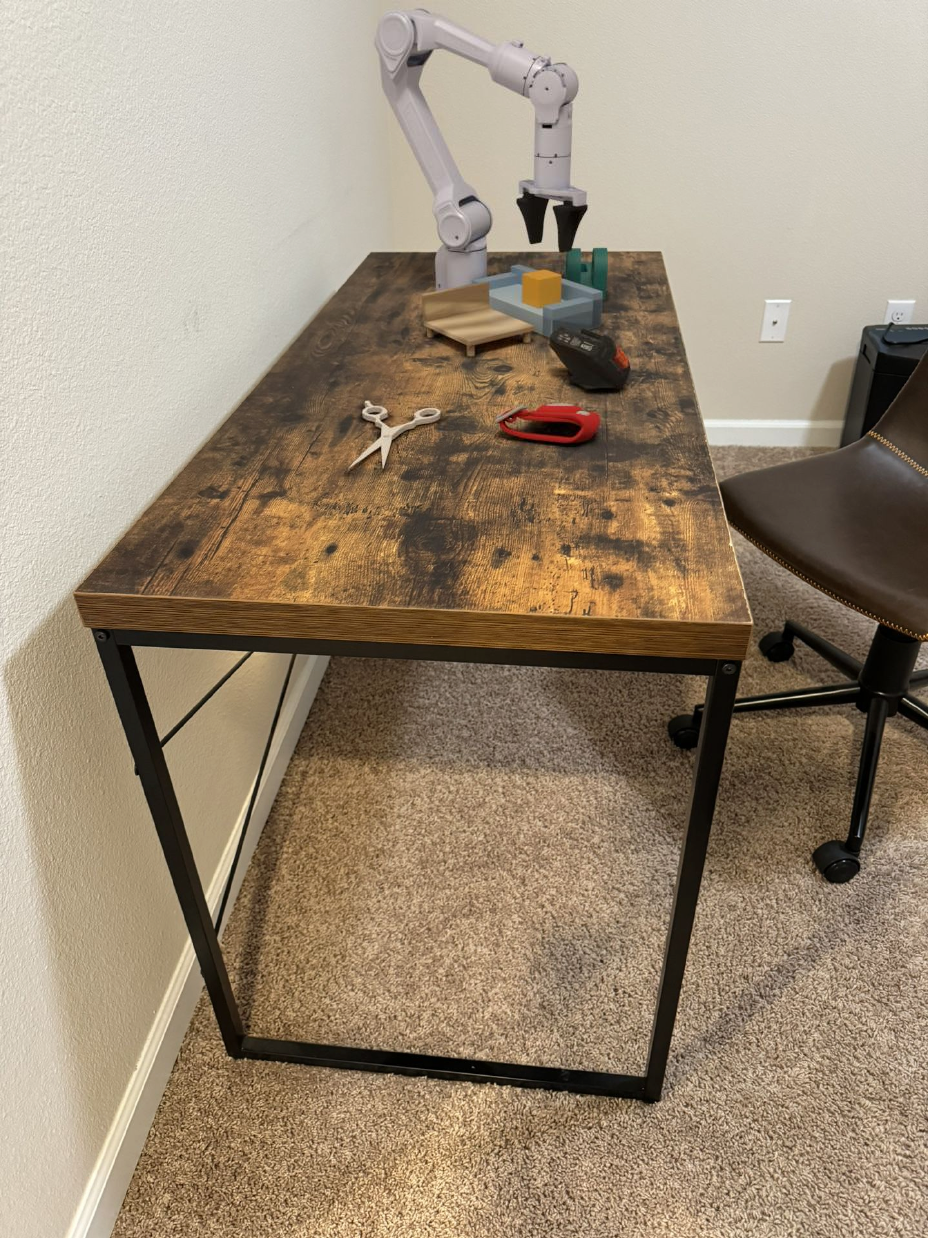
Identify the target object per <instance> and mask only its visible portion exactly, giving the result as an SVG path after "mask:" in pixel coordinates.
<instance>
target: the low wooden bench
mask: <svg viewBox="0 0 928 1238" xmlns="http://www.w3.org/2000/svg"><path fill="white" fill-rule="evenodd" d="M421 303H422V320H423V323H422V324H423V326H424V327H425V328H426V338H428V339H429V338H434V337H435V336H436V335H435V332H437V333H439V334H441V335H443V336H446V337H448V338H450V339H452V340H455V341H457V342H459V343H461V344H463V345H465V346H466V357H468V358H469V357H470V358H472V357H475V356H476V352H475V351H476V345H481V344H485V343H490V342H493V341H497V340H502V339H505V338H506V339H507V338H510V337H514V336H518V335H522V342H523V343H524V344H528V343H531V341H532V332H534V326H533V325H531V324H528V323H526V322H523V321H521V320H518V319H516V318H513V317H511V316H508V315H506V314H503V313H501V312H498V311H496V310H493V309H491V308H489V282H486V281H484V282H479V283H475V284H470V285H465V286H460V287H455V288H450V289H445V290H440V291H436V290H435V291H430V292H427V293H422V294H421Z"/></svg>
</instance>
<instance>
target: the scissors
mask: <svg viewBox="0 0 928 1238" xmlns="http://www.w3.org/2000/svg"><path fill="white" fill-rule="evenodd" d="M364 407H365V408H363V409H362V412H361V415H362V418H363V419H364V420H366V421H369V422H373V423H375V427H376V428H380V429H381V432H380V437H379V438H378V439H377V440H375V441H374V442H373V443H372V444H371V445H369V447H368V448H367V449H366V450H364V452H362V453H361V454H360V456H358V458H356V459H355V460H354V461H353V462H352V463H351V464H350V465H349V467H348V469H350V468H351V467H353V466H354V465H356V464H358V462H360V461H362V460H363V459H365V458H366V457H368V456H369V455H370V454H371V453H373V452H374V451H376V450H378V449H379V448H381V449H380V450H381V462H382V463H381V464H382V469H384V468H385V464H386V462H387V459H388V456H389V453H390V450H391V446H392V441H393V440H394V439H396V438H397V437H398V436H399V435H400V434H402V433H404V432H405V431H407V430H412V429H414V428H415V427H417V426H418V425H424V424H432V423H434V422H437V421H438V420H440V418H441V410H440V409H438V408H435V407H426V408H422V409H419V410H417V411H416V412H414V413H413V420H411V421H409V422H406V423H403V424H399V425H396V426H393V427H390V426H388V425H387V424H386V423H384V422H383V421H382V420H384V419H386V418H388V417H389V415H388V410H387V409H386V408H385V407H384V406H380V405H373V404H372V403H371V400H365V401H364ZM371 413H377V414H371ZM427 415H431V416H427Z"/></svg>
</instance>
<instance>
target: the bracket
mask: <svg viewBox="0 0 928 1238" xmlns="http://www.w3.org/2000/svg"><path fill="white" fill-rule="evenodd" d="M565 253H566V254H565V255H566V256H565V264H563V271H562V278H563V279H566V280H569V281H572V282H575V283H578V284H581V285H584V286H587V287H590V288H593V289H596V290H599V291H602V292H603V296H602V302H606V301H607V285H608V270H609V269H608V268H609V258H608V257H609V253H608V247H593V248H592V253H591V261H582V248H581V247H572V250H571V251H569V252H565Z"/></svg>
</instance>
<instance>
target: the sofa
mask: <svg viewBox="0 0 928 1238" xmlns="http://www.w3.org/2000/svg"><path fill="white" fill-rule="evenodd" d="M534 271H539V270H538V269H535V268H532V267H529V266H526V265H523V264H521V263H519V264H514V265H511V266H510V272H504V273H500V274H499V273H498V274H495V275H489V276H487V277H484V278H479V279H474V280H472V284H475V283H479V282H484V281H486V282H489V308H491V309H493V310H496V311H498V312H501V313H503V314H506V315H508V316H511V317H513V318H516V319H518V320H521V321H523V322H526V323H528V324H531V325H533V326H534V331H533V332H534V333H536V334H539V335H541V336H543V337H546V338H549V339H550V335H551V334H552V332H553V331H556V330H558V328H559V327H560V326H562V327H565V328H568V329H571V330H574V331H577V332H579V333H581V329H582V328H584V329H586V330H589V331H590V330H592V329H596V328H601V327H602V313H603V301H602V296H603V292H602V291H599V290H596V289H593V288H590V287H587V286H584V285H581V284H578V283H575V282H572V281H569V280H566V279H563V277H562V282H561V302H559V303H555V304H550V305H546V306H543V308H540V309H538V308H536V307H533V306H530V305H528V304H525V303H522V274H525V273H530V272H534Z"/></svg>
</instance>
